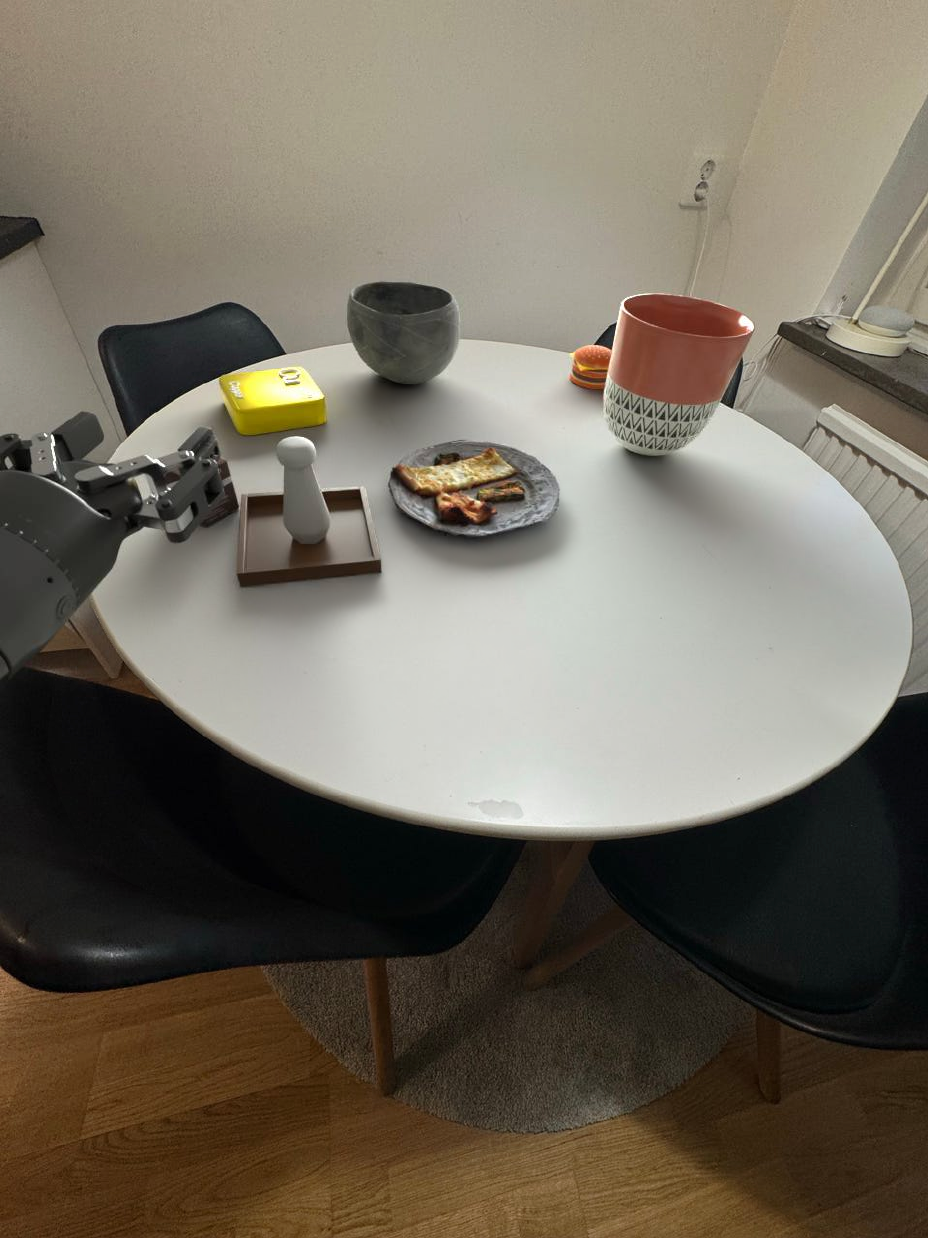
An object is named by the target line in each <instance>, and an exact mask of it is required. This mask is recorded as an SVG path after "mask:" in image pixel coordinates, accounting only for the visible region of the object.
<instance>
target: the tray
mask: <svg viewBox="0 0 928 1238" xmlns="http://www.w3.org/2000/svg"><path fill="white" fill-rule="evenodd" d="M320 489H321V492H322V495H323V498H324V500H325V503H326V506H327V508H328V511H329V514H330V526H329V529H328V531H327V534H326V536H325V538H323V539H322V540H320V541H319V542H317V543H316V544H300V543H299V542H298V541H297V540H295V539H294V538H293V537H292V535H291V534H290V533H289V532H288V531H287V529H286V528H285V526H284V523H283V504H284V490H283V491H282V490H281V491H267V492H266V491H265V492H254V493H242V494H241V495H240V506H239V508H240V509H239V527H238V528H239V530H238V541H237V542H238V543H237V557H236V558H237V559H236V560H237V561H236V578H237V580H238V584H239V587H240V588H245V587H255V586H266V585H275V584H284V583H295V582H305V581H313V580H322V579H333V578H341V577H353V576H363V575H371V574H372V575H373V574H381V573H382V559H381V553H380V549H379V544H378V539H377V536H376V530H375V526H374V521H373V517H372V513H371V512H372V511H371V508H370V503H369V499H368V494H367V490H366V485H356V486H343V487H341V486H340V487H326V488H320Z"/></svg>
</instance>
